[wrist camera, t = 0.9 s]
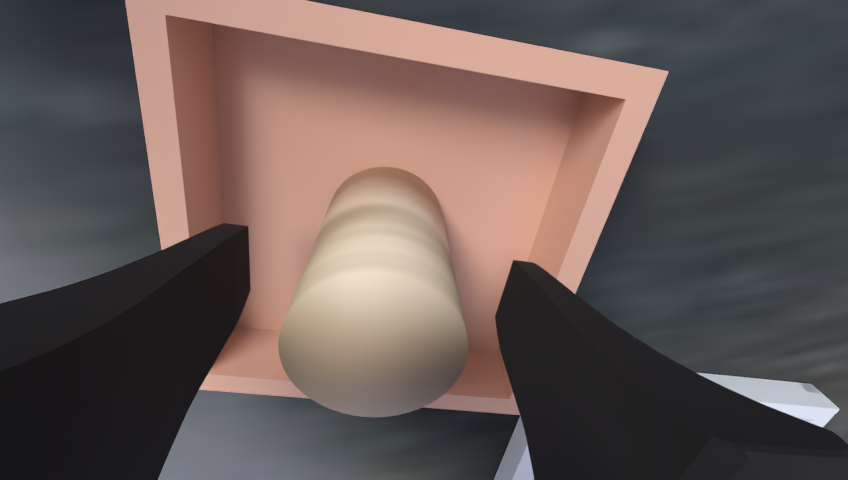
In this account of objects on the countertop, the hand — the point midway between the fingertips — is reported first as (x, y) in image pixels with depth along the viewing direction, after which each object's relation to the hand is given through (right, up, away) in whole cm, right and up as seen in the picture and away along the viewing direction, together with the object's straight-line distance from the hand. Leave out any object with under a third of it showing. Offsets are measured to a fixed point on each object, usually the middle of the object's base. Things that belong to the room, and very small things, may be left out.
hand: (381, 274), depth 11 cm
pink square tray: (0, +2, +4) cm, 4 cm away
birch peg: (0, +2, +3) cm, 4 cm away
